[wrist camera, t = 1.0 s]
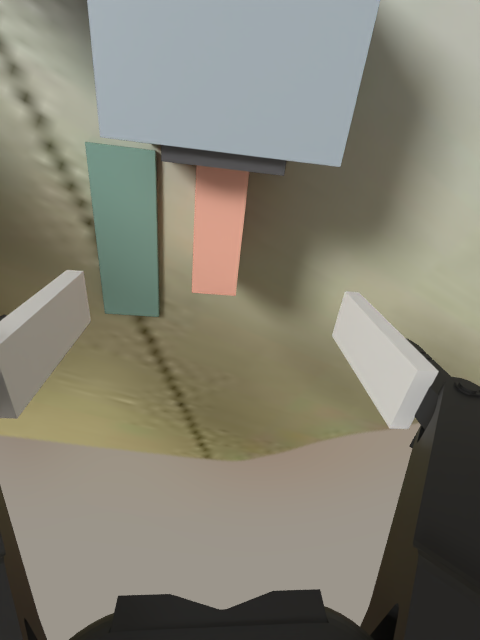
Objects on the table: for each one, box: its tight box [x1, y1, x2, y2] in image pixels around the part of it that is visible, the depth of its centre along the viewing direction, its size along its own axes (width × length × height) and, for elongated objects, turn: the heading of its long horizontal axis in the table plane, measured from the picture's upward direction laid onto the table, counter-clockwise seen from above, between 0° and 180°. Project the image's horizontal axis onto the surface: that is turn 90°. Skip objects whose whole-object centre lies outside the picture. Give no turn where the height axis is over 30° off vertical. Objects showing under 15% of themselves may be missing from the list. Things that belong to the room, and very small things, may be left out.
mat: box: [85, 142, 159, 317], centre depth 31 cm, size 6×17×1 cm, turn 174°
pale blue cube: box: [87, 0, 380, 176], centre depth 19 cm, size 13×15×14 cm
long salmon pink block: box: [192, 165, 249, 296], centre depth 25 cm, size 4×16×10 cm, turn 174°
